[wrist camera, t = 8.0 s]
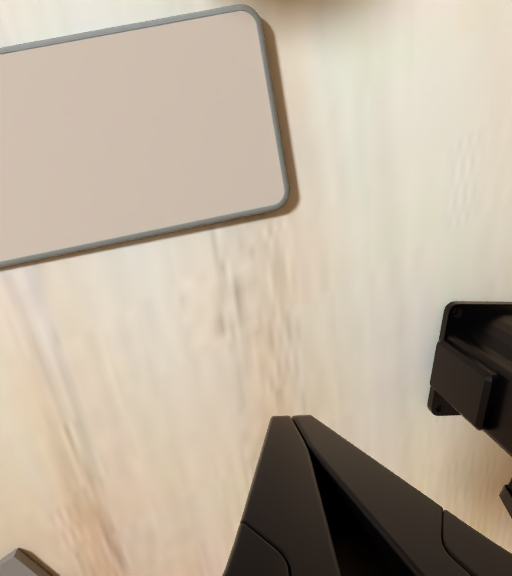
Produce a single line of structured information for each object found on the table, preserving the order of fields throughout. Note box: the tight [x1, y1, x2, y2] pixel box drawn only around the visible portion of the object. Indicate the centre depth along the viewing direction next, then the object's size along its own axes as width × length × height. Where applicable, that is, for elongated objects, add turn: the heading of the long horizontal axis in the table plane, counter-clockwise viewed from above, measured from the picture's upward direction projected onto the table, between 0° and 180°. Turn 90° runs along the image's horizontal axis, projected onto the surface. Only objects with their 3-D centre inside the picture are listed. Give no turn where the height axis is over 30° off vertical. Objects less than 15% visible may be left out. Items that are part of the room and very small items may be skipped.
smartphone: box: [0, 4, 289, 268], centre depth 18 cm, size 8×1×15 cm
